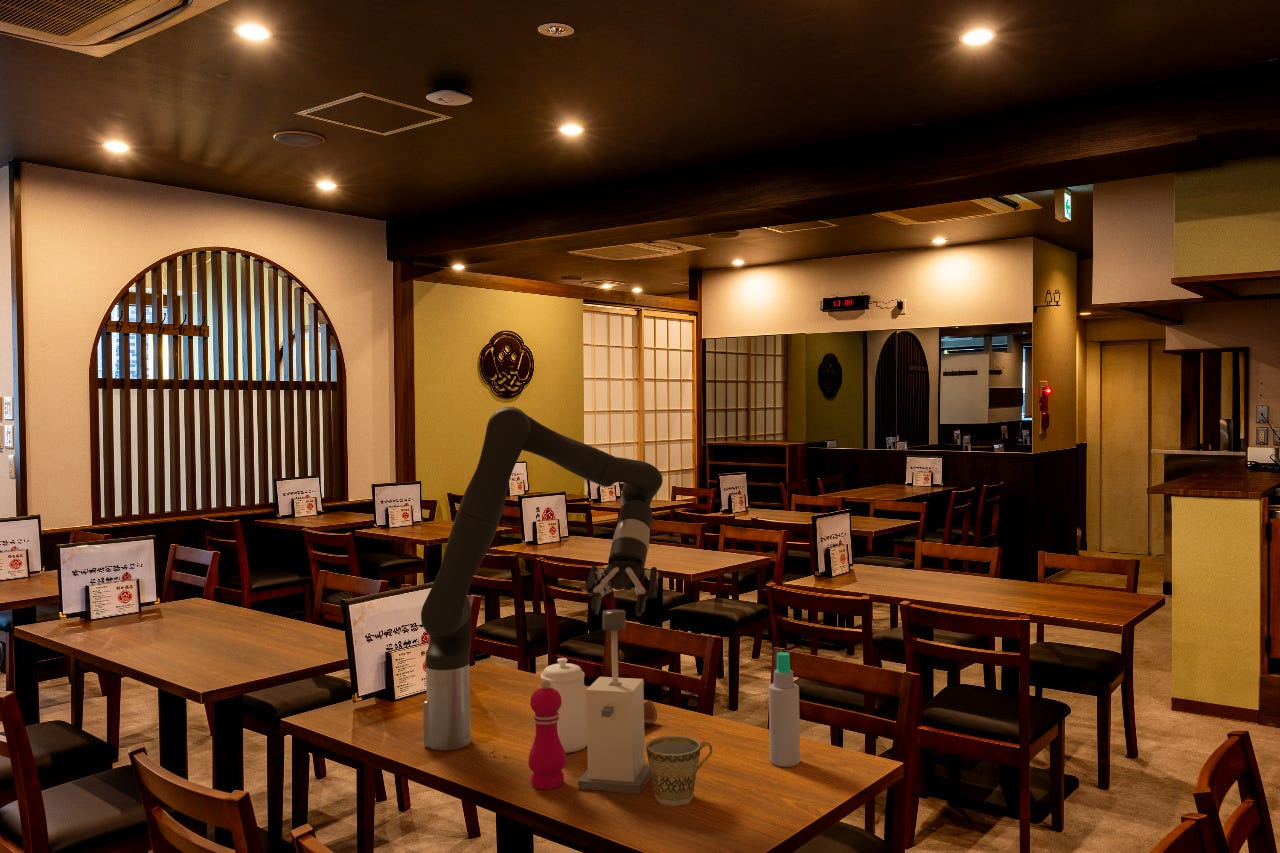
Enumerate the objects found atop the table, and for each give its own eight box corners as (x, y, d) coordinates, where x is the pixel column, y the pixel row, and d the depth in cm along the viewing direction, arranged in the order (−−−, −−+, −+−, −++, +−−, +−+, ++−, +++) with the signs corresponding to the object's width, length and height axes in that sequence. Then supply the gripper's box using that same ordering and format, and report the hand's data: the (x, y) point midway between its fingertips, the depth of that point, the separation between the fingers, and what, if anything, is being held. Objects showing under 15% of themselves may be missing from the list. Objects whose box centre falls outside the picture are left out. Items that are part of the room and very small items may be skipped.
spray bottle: (766, 765, 189) (764, 656, 189) (773, 755, 195) (772, 648, 194) (796, 769, 187) (794, 658, 187) (802, 758, 193) (801, 651, 192)
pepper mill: (551, 793, 177) (549, 687, 177) (521, 786, 181) (518, 682, 181) (573, 780, 183) (571, 677, 183) (544, 773, 187) (542, 673, 187)
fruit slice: (642, 734, 209) (642, 711, 209) (617, 729, 213) (617, 707, 213) (662, 723, 216) (662, 701, 216) (637, 718, 220) (637, 697, 220)
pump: (601, 720, 182) (599, 613, 182) (608, 713, 186) (606, 609, 186) (623, 721, 181) (621, 614, 181) (629, 714, 185) (627, 609, 185)
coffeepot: (520, 767, 191) (518, 674, 191) (555, 726, 215) (554, 643, 215) (572, 770, 189) (570, 676, 188) (602, 728, 213) (600, 645, 213)
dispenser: (576, 790, 178) (574, 693, 178) (596, 765, 191) (594, 674, 191) (638, 795, 175) (636, 696, 175) (654, 769, 188) (652, 677, 188)
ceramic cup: (661, 814, 167) (660, 758, 167) (638, 793, 177) (637, 740, 176) (725, 800, 173) (724, 746, 172) (700, 781, 182) (699, 729, 182)
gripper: (593, 534, 195) (577, 601, 184) (660, 535, 192) (648, 603, 181) (600, 556, 200) (585, 622, 189) (666, 557, 197) (655, 625, 186)
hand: (616, 613), depth 185 cm, fingers open, 8 cm apart
